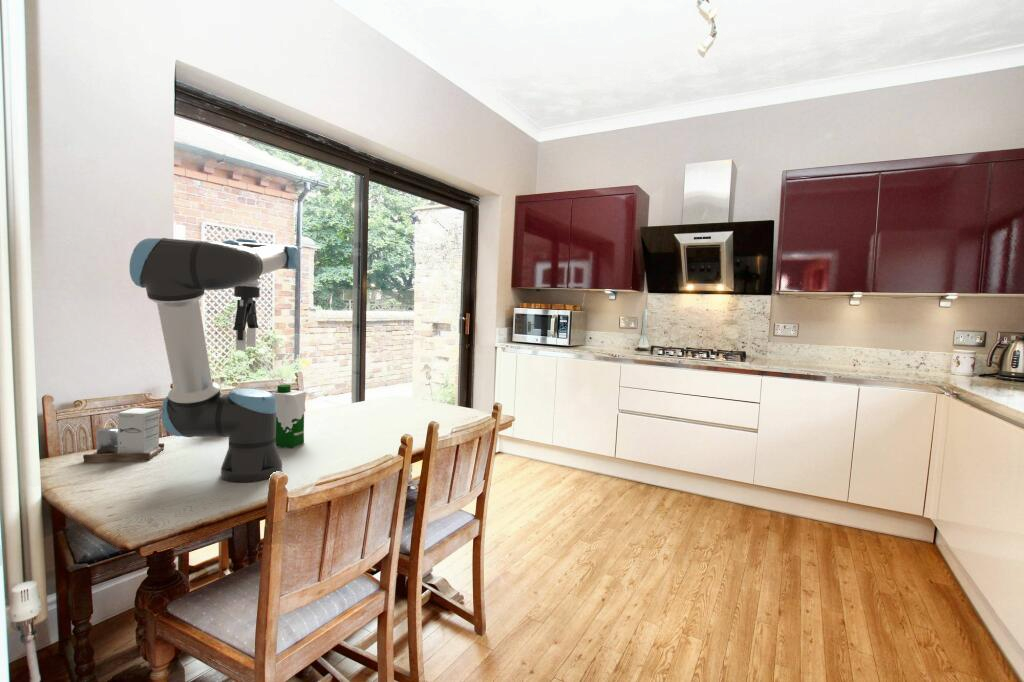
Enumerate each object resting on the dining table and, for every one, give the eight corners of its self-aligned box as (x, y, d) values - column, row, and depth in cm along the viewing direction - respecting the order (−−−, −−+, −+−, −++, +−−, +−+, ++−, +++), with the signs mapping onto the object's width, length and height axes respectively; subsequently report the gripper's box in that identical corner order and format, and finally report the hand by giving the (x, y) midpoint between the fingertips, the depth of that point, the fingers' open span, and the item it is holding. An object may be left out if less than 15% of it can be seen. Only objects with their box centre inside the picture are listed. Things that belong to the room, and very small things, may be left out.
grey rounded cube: (113, 455, 141) (113, 431, 141) (92, 455, 140) (92, 431, 139) (122, 450, 146) (121, 427, 146) (102, 450, 145) (102, 427, 144)
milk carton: (284, 440, 169) (285, 383, 168) (308, 442, 167) (309, 385, 166) (268, 446, 160) (269, 387, 159) (293, 449, 159) (294, 389, 158)
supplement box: (116, 455, 141) (116, 412, 140) (134, 447, 148) (134, 407, 147) (143, 455, 141) (143, 413, 141) (160, 448, 149) (160, 408, 148)
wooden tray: (164, 450, 152) (164, 443, 151) (149, 460, 141) (149, 453, 141) (103, 451, 147) (103, 444, 147) (83, 462, 137) (83, 455, 137)
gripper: (250, 285, 152) (249, 352, 153) (267, 287, 176) (266, 345, 177) (223, 283, 150) (222, 351, 151) (244, 286, 174) (243, 345, 175)
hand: (246, 348), depth 164 cm, fingers open, 13 cm apart
